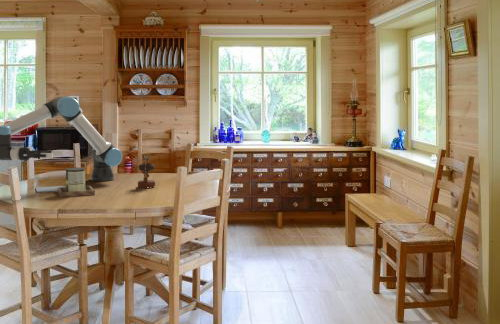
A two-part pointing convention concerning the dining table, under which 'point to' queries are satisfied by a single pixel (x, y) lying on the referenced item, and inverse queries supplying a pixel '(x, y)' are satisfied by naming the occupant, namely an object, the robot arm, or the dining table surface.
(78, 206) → the dining table surface
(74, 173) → the coffee can
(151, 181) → the bird automaton toy
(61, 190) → the square wooden tray
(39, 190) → the slate mat
